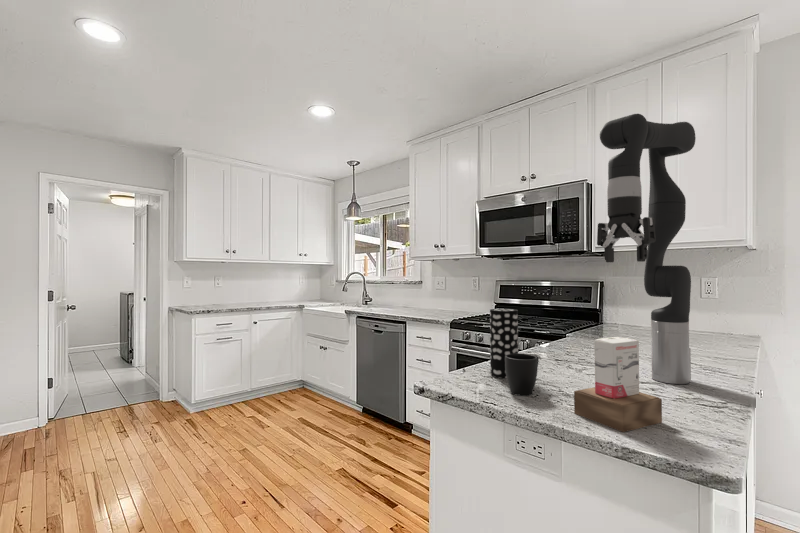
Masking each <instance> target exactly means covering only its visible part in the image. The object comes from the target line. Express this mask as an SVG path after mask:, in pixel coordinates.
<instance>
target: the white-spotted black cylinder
mask: <svg viewBox="0 0 800 533" xmlns="http://www.w3.org/2000/svg"><path fill="white" fill-rule="evenodd" d="M489 333H490V334H489V342H490V343H489V348H490V350H489V352H490V353H489V355H490V359H489V360H490V362H489V364H490V367H489V368H490V376H492V377H493V378H498V379H506V380H507V377H506V371H505V355H508V354H516V353H517V354H519V310H518V309H515V308H491V309H489Z"/></svg>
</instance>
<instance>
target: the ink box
mask: <svg viewBox="0 0 800 533" xmlns="http://www.w3.org/2000/svg"><path fill="white" fill-rule="evenodd" d="M639 342H640V341H639V340H638V339H637V340H636V339H633V338H627V337H622V336H613V337H602V338H596V339H594V342H593V343H594V344H593V345H594V346H593V349H594V387H595V393H596V394H599V395H602V396H606V397H610V398H613V399H616V398H621V397H626V396H631V395H636V394H639V392H640V359H639V358H640V348H639V347H640V343H639Z"/></svg>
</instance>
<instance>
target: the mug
mask: <svg viewBox="0 0 800 533" xmlns="http://www.w3.org/2000/svg"><path fill="white" fill-rule="evenodd" d="M538 366H539V356H537V354H528V353H518V354H517V353H516V354H508V355H505V371H506V377H507V379H506V380H507V384H508V387H509V392H510V393H511V394H512V395H515V396H520V397H525V396H531V395H533V394H534V393H533V392H534V388H535V385H536V382H537V376H538V368H539V367H538Z"/></svg>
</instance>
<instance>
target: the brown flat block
mask: <svg viewBox="0 0 800 533" xmlns="http://www.w3.org/2000/svg"><path fill="white" fill-rule="evenodd" d="M573 395H574V396H573V400H574V401H573V402H574V409H573V410H574V413H573V414H575V415H578V416H580V417H583V418H585V419H588V420H590V421H593V422H596V423H598V424H601V425H604V426H606V427H609V428H612V429H614V430H616V431H620V432H622V433H625V432H630V431H634V430H637V429H641V428H645V427H646V428H647V427H651V426H653V425H659V424H662V423H663V406H662V405H663V404H662V402H663V401H662V400H663V399H662V398H661V397H658V396H655V395H651V394H647V393H644V392H641V391H639V394H636V395H631V396H626V397H621V398H616V399H613V398H610V397H606V396H602V395H599V394H596V393H595V386H594V387H589V388H583V389H577V390H574V391H573Z"/></svg>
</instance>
